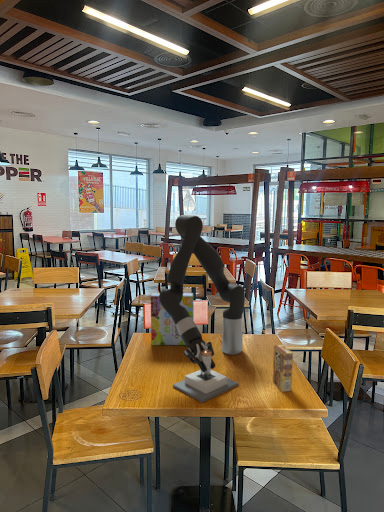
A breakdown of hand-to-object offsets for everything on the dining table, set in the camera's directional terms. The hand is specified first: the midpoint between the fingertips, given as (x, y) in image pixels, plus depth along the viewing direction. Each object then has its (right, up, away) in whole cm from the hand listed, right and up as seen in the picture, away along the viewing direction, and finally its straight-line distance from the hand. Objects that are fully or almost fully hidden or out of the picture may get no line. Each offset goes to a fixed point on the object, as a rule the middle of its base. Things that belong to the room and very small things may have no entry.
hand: (209, 369), depth 142 cm
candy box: (+28, -8, +3) cm, 30 cm away
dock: (-1, -7, +2) cm, 8 cm away
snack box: (-17, -2, +49) cm, 52 cm away
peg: (-2, -4, +2) cm, 5 cm away
